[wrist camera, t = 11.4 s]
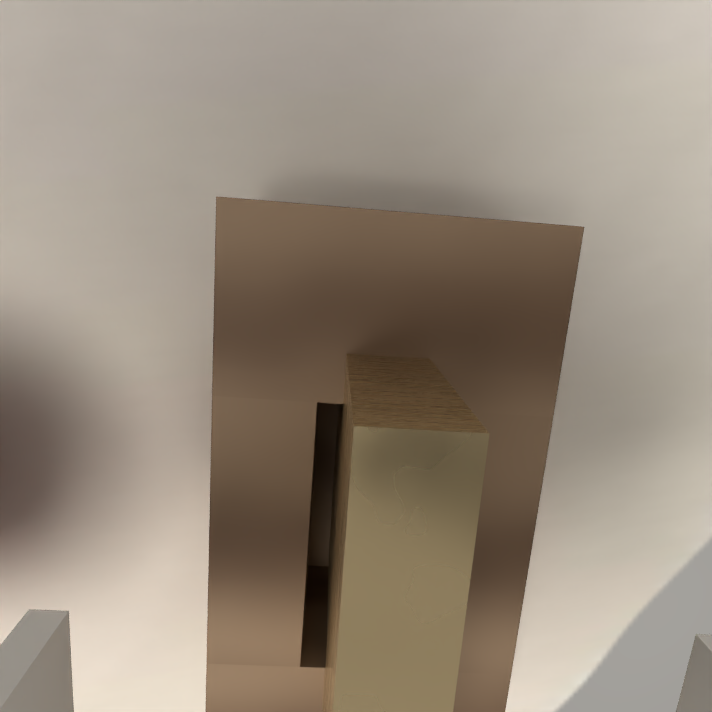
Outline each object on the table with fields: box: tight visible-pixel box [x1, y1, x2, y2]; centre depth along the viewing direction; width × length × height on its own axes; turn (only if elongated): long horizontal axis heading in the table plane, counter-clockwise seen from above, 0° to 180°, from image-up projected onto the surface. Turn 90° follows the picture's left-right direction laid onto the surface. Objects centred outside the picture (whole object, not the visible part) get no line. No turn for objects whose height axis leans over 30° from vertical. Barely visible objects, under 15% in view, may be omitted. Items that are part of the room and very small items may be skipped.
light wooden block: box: [322, 354, 490, 712], centre depth 16 cm, size 12×2×11 cm, turn 176°
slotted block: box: [206, 197, 584, 712], centre depth 19 cm, size 20×10×6 cm, turn 176°
